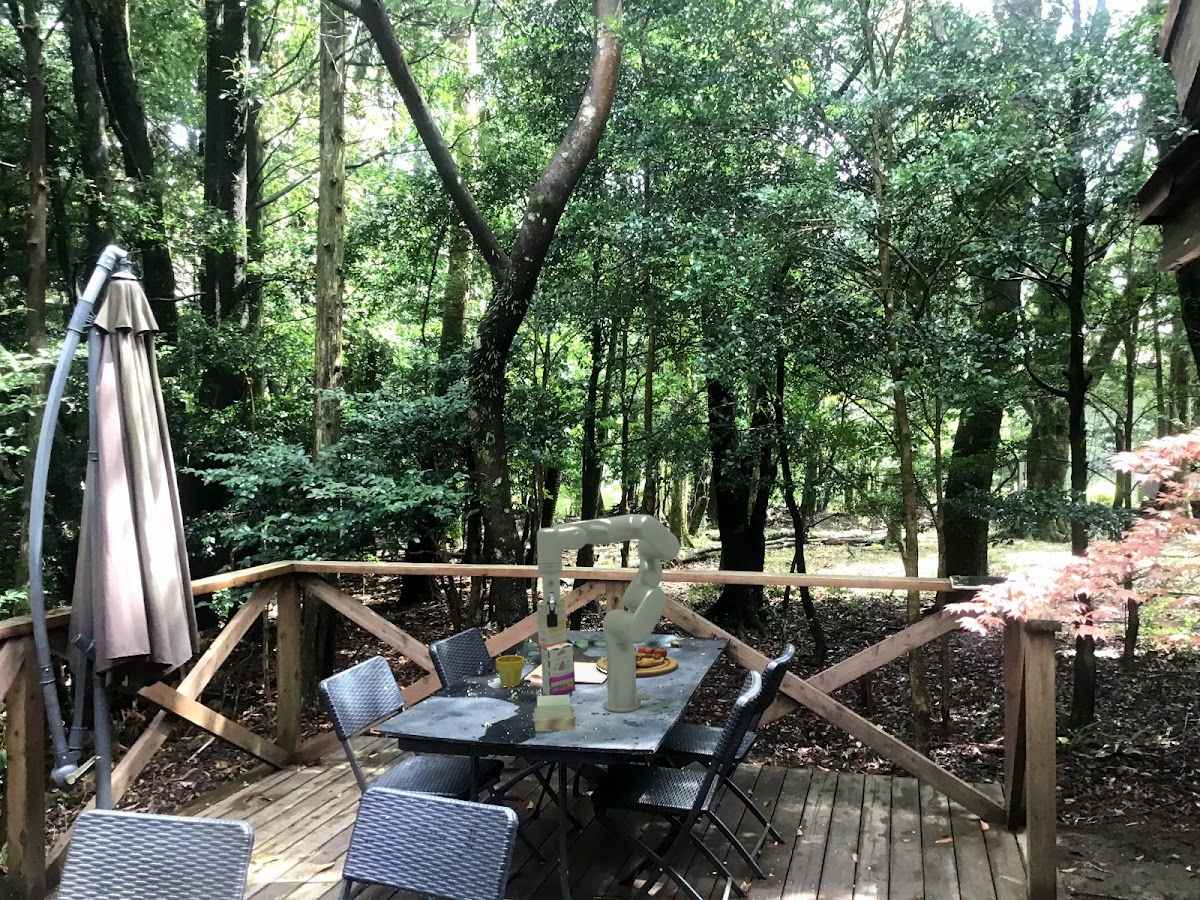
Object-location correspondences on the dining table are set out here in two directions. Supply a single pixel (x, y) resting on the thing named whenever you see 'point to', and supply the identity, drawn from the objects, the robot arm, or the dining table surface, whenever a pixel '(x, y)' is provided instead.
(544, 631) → the supplement box
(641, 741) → the dining table surface
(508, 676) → the plant pot
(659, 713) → the dining table surface
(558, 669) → the candy bar box
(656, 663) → the wooden plate with food
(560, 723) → the tower base block
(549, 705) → the tower top block
